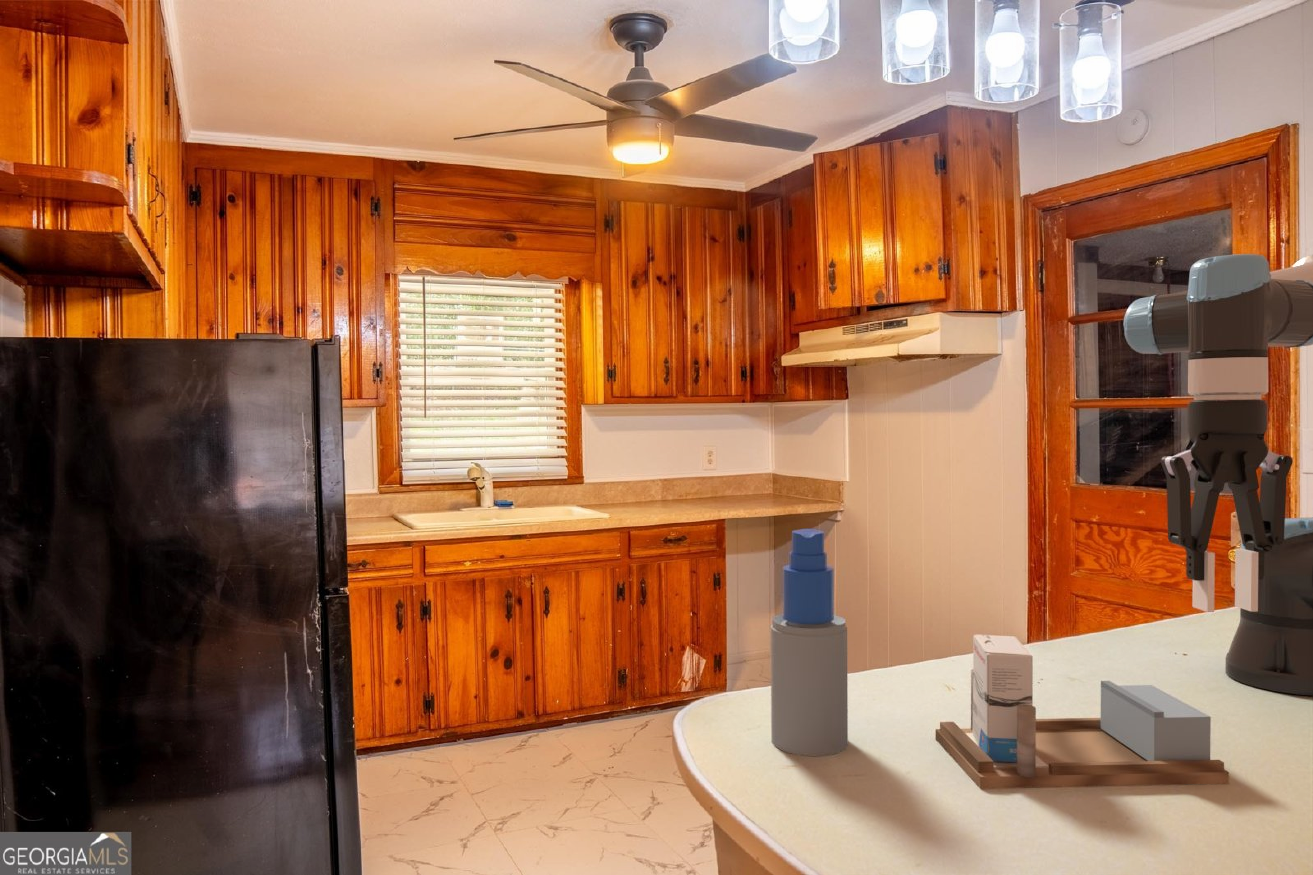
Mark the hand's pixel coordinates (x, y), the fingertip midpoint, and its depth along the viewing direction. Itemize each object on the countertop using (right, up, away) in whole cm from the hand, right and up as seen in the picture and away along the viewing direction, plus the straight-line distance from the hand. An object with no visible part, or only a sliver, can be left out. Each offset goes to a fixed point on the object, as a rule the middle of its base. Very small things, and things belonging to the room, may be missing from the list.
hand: (1224, 608), depth 101 cm
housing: (-8, -15, 0) cm, 17 cm away
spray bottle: (-45, -17, +7) cm, 49 cm away
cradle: (-17, -17, 0) cm, 24 cm away
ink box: (-25, -16, 0) cm, 29 cm away
